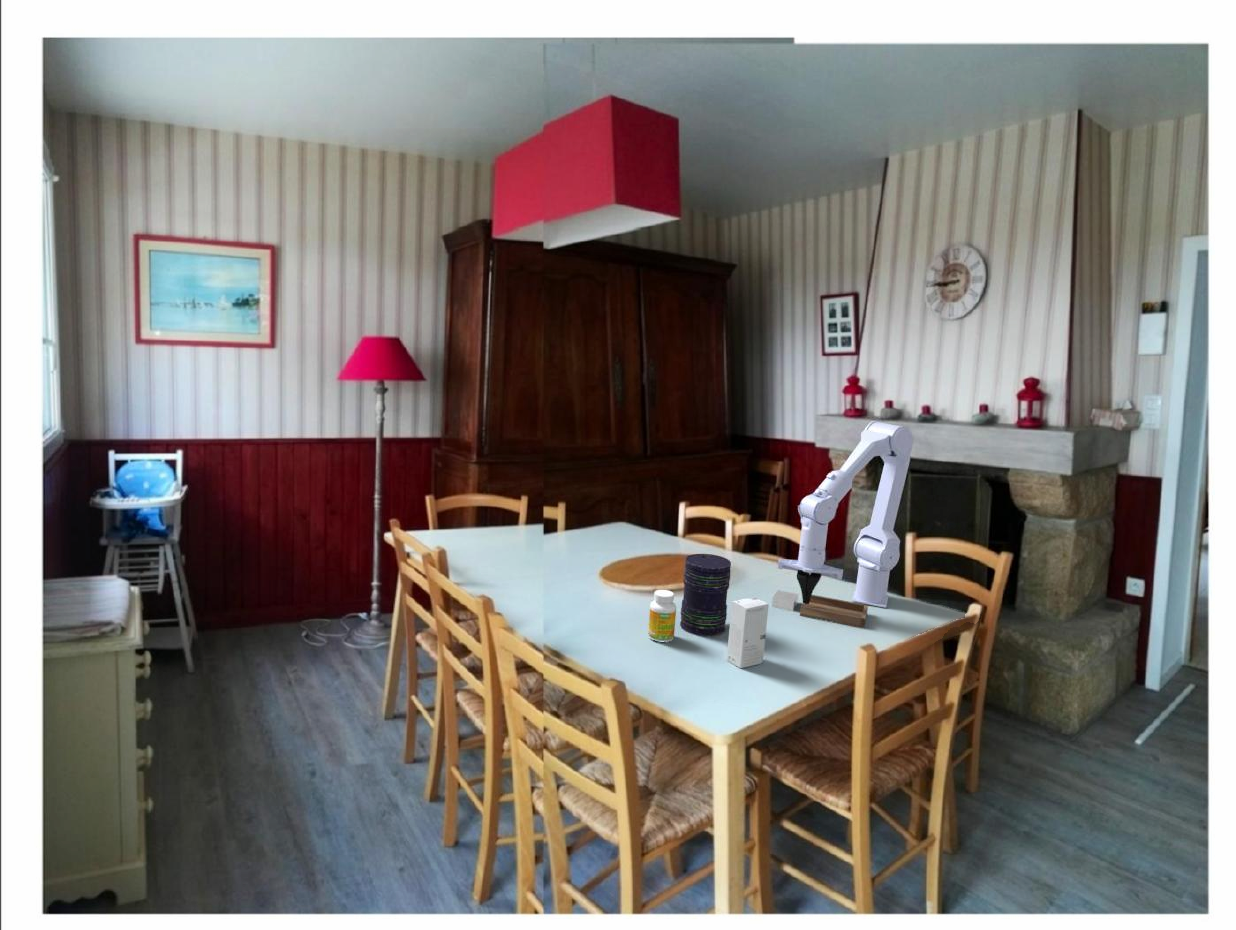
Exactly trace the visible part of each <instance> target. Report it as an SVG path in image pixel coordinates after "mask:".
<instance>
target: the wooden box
mask: <svg viewBox="0 0 1236 930" xmlns="http://www.w3.org/2000/svg"><path fill="white" fill-rule="evenodd" d="M868 610H869V605H868V604H863V603H857V602H853V601H849V600H848V601H847V600H843V599H837V598H832V597H826V596H821V595H816V594H812V595H811V598H810V602H809V604H804V603H803V605H802V604H801V605H800V609H799V616H800V617H806V618H810V619H815V618H818V619H817V620H820V619H822V620H821V621H825V620H827V621H826V622H830V621H833V622H832V623H835V622H837V623H836V624H840V625H844V626H851V627H856V628H861V629H865V626H866V621H867V616H868Z"/></svg>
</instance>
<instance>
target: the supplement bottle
mask: <svg viewBox="0 0 1236 930" xmlns="http://www.w3.org/2000/svg"><path fill="white" fill-rule="evenodd" d="M674 599H675V593H674V592H672V591H670V590H667V589H657V590H655V591H654V594H653V601H651V603H650V605H649V614H648V615H649V617H648V629H647V630H648V631H647V635H648V634H649V636H650V637H651V638H652V639H654V640H656V641H664V642H666V643H670V642H672V641H673V640H674V638H675V630H676V629H675V628H676V617H677V605H676V603H675V602H674ZM669 641H670V642H669Z"/></svg>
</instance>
